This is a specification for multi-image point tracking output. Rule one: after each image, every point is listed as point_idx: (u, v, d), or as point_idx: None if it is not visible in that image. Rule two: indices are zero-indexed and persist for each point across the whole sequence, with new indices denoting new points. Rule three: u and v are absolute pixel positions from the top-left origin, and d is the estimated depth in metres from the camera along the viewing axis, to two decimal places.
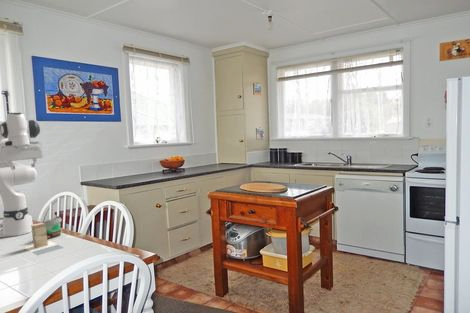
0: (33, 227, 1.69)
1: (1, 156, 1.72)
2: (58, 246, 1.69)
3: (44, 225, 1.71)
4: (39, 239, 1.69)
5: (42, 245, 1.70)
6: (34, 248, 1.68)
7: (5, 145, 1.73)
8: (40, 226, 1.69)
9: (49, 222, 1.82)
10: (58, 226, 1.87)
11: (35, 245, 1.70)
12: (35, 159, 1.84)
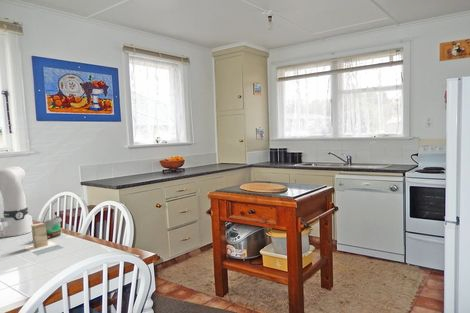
0: (33, 227, 1.69)
1: None
2: (58, 246, 1.69)
3: (44, 225, 1.71)
4: (39, 239, 1.69)
5: (42, 245, 1.70)
6: (34, 248, 1.68)
7: None
8: (40, 226, 1.69)
9: (49, 222, 1.82)
10: (58, 226, 1.87)
11: (35, 245, 1.70)
12: None
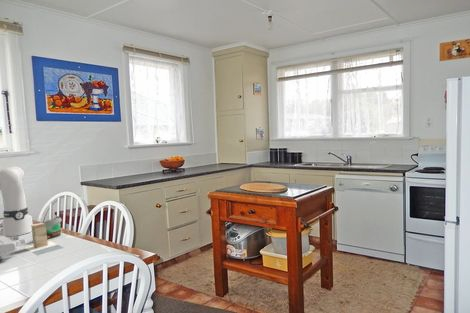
0: (33, 227, 1.69)
1: (9, 243, 1.53)
2: (58, 246, 1.69)
3: (44, 225, 1.71)
4: (39, 239, 1.69)
5: (42, 245, 1.70)
6: (34, 248, 1.68)
7: None
8: (40, 226, 1.69)
9: (49, 222, 1.82)
10: (58, 226, 1.87)
11: (35, 245, 1.70)
12: (7, 237, 1.66)
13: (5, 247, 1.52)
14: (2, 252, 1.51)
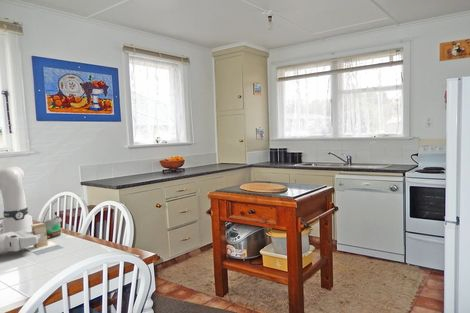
0: (33, 227, 1.69)
1: (31, 237, 1.60)
2: (58, 246, 1.69)
3: (44, 225, 1.71)
4: (39, 239, 1.69)
5: (42, 245, 1.70)
6: (34, 248, 1.68)
7: (16, 236, 1.58)
8: (40, 226, 1.69)
9: (49, 222, 1.82)
10: (58, 226, 1.87)
11: (35, 245, 1.70)
12: (29, 232, 1.72)
13: (27, 240, 1.59)
14: (25, 245, 1.58)
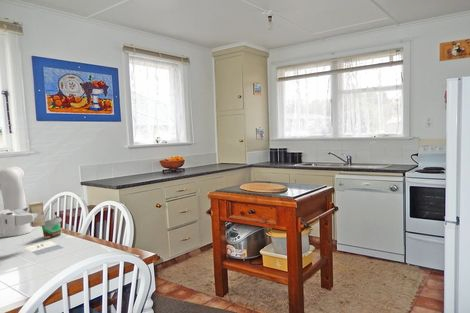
0: (30, 206, 1.65)
1: (27, 214, 1.57)
2: (58, 246, 1.69)
3: (41, 204, 1.67)
4: (36, 218, 1.65)
5: (39, 224, 1.67)
6: (34, 248, 1.68)
7: (12, 214, 1.54)
8: (37, 205, 1.66)
9: (49, 222, 1.82)
10: (58, 226, 1.87)
11: (32, 224, 1.66)
12: (26, 211, 1.68)
13: (23, 218, 1.55)
14: (20, 223, 1.55)
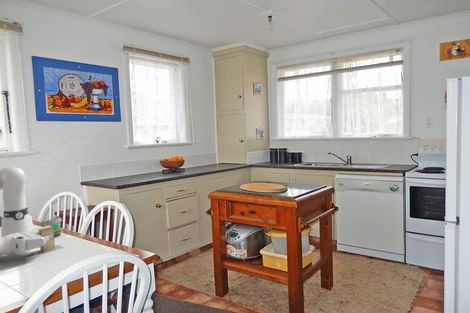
0: (40, 230, 1.62)
1: (38, 238, 1.53)
2: (58, 246, 1.69)
3: (51, 228, 1.64)
4: (46, 243, 1.62)
5: (49, 249, 1.63)
6: None
7: (23, 238, 1.51)
8: (47, 229, 1.63)
9: (49, 222, 1.82)
10: (58, 226, 1.87)
11: (42, 249, 1.63)
12: None
13: (34, 242, 1.52)
14: (31, 247, 1.51)
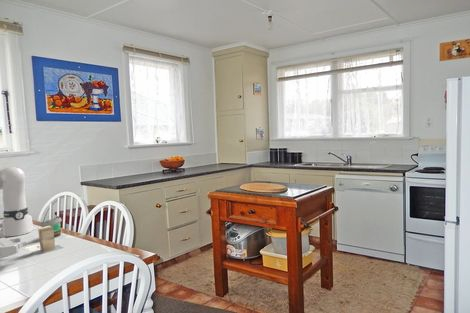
0: (40, 230, 1.62)
1: (10, 245, 1.45)
2: (58, 246, 1.69)
3: (51, 228, 1.64)
4: (46, 243, 1.62)
5: (49, 249, 1.63)
6: (34, 248, 1.68)
7: None
8: (47, 229, 1.63)
9: (49, 222, 1.82)
10: (58, 226, 1.87)
11: (42, 249, 1.63)
12: (9, 239, 1.58)
13: (6, 250, 1.44)
14: (3, 255, 1.43)
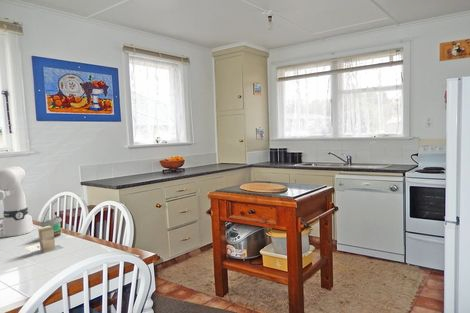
0: (40, 230, 1.62)
1: None
2: (58, 246, 1.69)
3: (51, 228, 1.64)
4: (46, 243, 1.62)
5: (49, 249, 1.63)
6: (34, 248, 1.68)
7: None
8: (47, 229, 1.63)
9: (49, 222, 1.82)
10: (58, 226, 1.87)
11: (42, 249, 1.63)
12: None
13: None
14: None
